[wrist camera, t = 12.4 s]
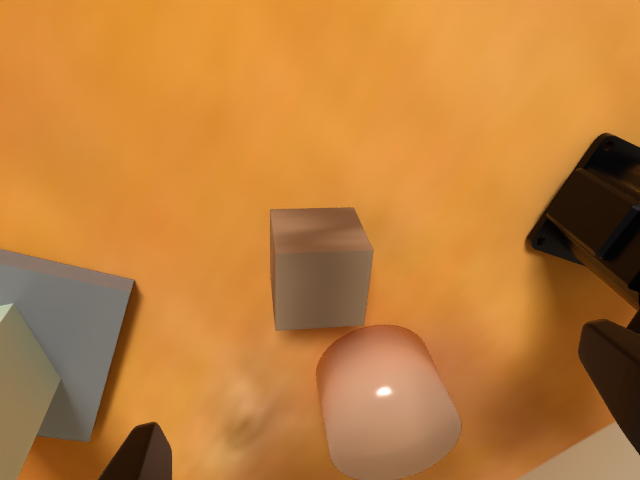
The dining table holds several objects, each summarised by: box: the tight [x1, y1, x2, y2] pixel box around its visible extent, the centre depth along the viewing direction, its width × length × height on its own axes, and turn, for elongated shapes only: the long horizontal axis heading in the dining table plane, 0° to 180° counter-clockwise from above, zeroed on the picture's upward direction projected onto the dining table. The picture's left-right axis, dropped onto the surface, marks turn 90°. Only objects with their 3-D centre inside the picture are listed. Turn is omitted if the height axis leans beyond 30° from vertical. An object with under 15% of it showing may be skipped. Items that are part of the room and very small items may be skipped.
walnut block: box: [270, 208, 373, 331], centre depth 21 cm, size 4×4×4 cm
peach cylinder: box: [316, 325, 461, 480], centre depth 26 cm, size 7×7×5 cm
